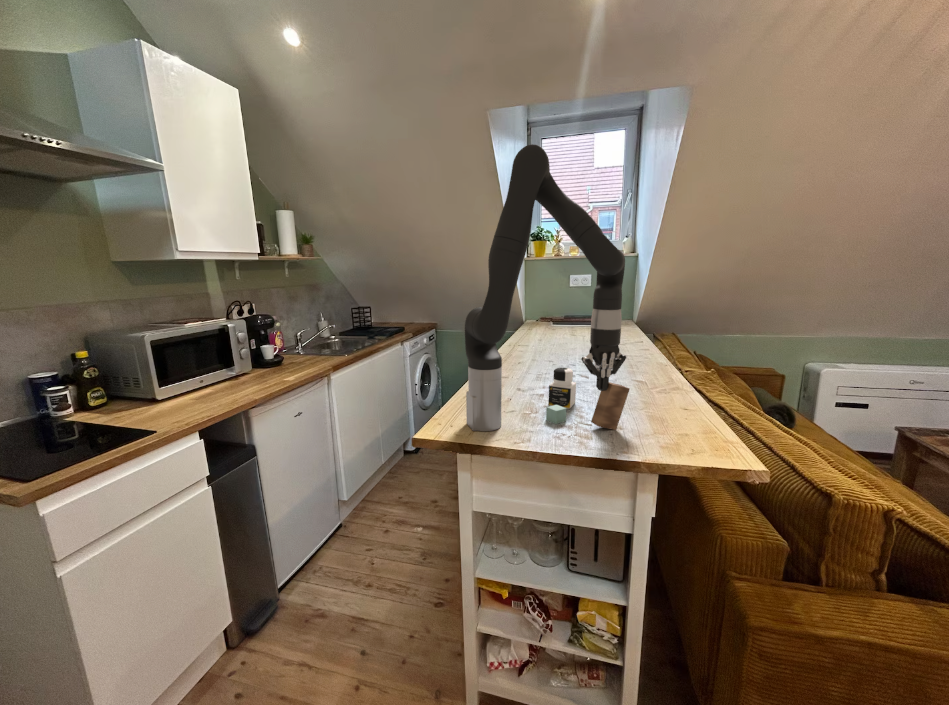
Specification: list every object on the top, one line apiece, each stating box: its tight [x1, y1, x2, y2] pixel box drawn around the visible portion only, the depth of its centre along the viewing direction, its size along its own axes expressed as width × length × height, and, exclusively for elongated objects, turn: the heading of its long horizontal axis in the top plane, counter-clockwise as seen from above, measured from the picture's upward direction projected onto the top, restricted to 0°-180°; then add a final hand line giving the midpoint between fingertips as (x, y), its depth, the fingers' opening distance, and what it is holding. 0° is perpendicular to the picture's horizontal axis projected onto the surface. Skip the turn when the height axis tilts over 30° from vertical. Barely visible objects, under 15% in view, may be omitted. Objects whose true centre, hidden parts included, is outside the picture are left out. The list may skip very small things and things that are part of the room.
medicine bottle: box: [548, 367, 577, 410], centre depth 130 cm, size 7×7×12 cm
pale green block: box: [545, 405, 567, 425], centre depth 117 cm, size 4×4×4 cm
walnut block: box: [590, 381, 630, 431], centre depth 110 cm, size 6×4×12 cm, turn 108°
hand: (602, 389), depth 108 cm, fingers closed
